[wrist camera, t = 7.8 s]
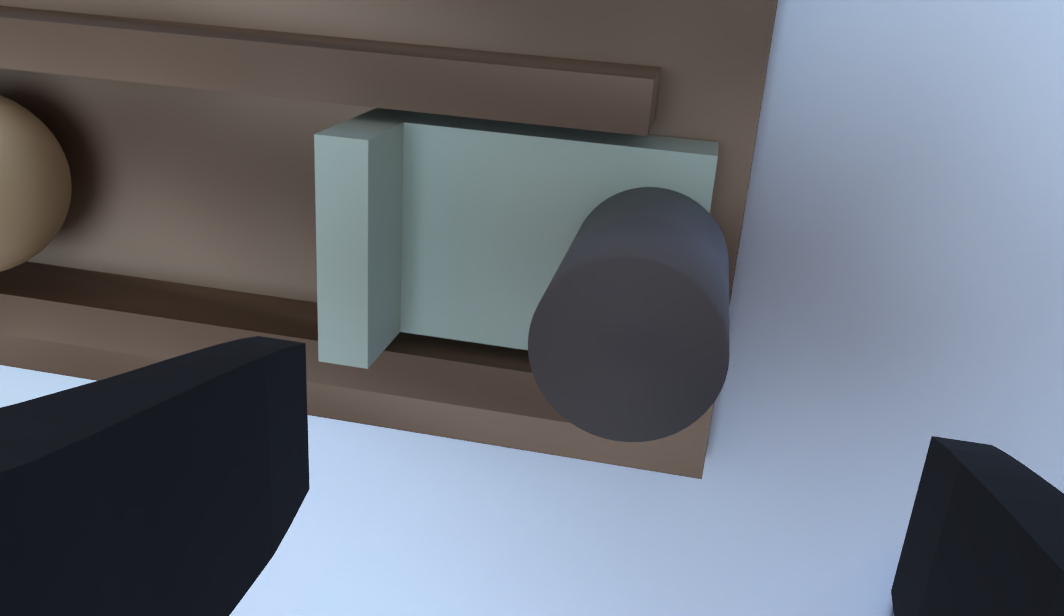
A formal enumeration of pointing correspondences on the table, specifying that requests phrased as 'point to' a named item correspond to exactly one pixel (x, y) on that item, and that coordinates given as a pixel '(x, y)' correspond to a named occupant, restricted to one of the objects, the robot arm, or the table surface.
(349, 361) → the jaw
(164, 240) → the base
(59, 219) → the ball
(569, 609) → the table surface
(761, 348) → the table surface
